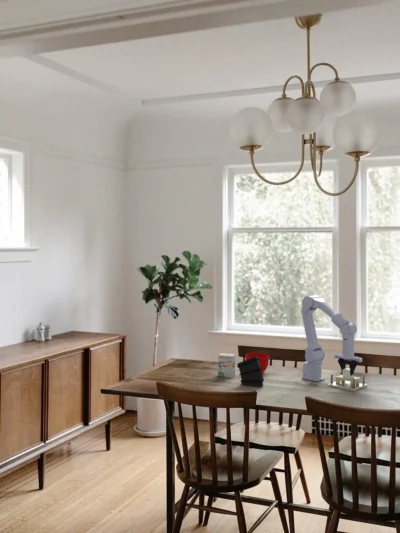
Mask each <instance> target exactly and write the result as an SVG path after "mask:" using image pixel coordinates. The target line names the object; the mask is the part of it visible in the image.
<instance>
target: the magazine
mask: <svg viewBox="0 0 400 533" xmlns="http://www.w3.org/2000/svg"><path fill="white" fill-rule="evenodd" d="M258 359H259V357H257V356H255V357H252V358H250V359H247V360H246V359H245V360H243V361H240V362H238V363H237V364H236V365H237V366H236V368H237V369H238V370H239V372H240V373H239V376H240V381H239V382H240V383H241V386H248V387H253V388H254V387H255V388H263V386H264V382H265V379H264V377H263V374H264V373H263V374H262V367H261V365H260V362H259V360H258Z"/></svg>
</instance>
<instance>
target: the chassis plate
mask: <svg viewBox="0 0 400 533" xmlns="http://www.w3.org/2000/svg"><path fill="white" fill-rule="evenodd" d="M340 375H343V374H342V371H340ZM333 376H334V375H333V374H330V383H328V384H327V387H330V388H336V389H340V390H345V391H350V392H355V391H358V390H361V389H363V388H366V387H367V388H368V384H366V383H365V379H366V378H365V377H366V376H365V375H362V383H361V382H360V381H361V380H358V381H355V379H353V382H351V381H346V380H340V379H336V378H335V381H334V377H333Z"/></svg>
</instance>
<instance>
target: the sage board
mask: <svg viewBox="0 0 400 533" xmlns="http://www.w3.org/2000/svg"><path fill="white" fill-rule="evenodd" d="M336 379H340V380H346V381H351V382H353V379H355V381H358V380H360V381H361V377H358V376H355V374H354V375H352V376H351V375H350V367H349V368H348V367H346V368H345V369H343V375H341V374H340V375H337V376H335V380H336Z"/></svg>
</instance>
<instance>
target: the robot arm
mask: <svg viewBox="0 0 400 533" xmlns="http://www.w3.org/2000/svg"><path fill="white" fill-rule="evenodd" d="M301 305H302V306H301V310H300V311H301V312H300V313H301V317H302V322H303V327H304V328H303V329H304V332H305V339H306V342H307V345H306V347H305V350H304V351H305V353H304V359H305V360H306V361H304V362H303V365H302V377H301V379H304V380H306V381H307V380H308V381H314V382H319V381H322V380H325V379H326V378H325V377H323V376H322V375H323V374H322V373H323V372H322V370H323V368H322V366H323V360H324V359H325V357H326V356H325V352H324V350H323V347H322V345H321V344H320V343H319V340H318V336H317V332H316V331H317V330H316V326H315V321H314V316H313V314H314V313H315V311H316V310H317V309H320V310H321V311H322V312H323V313H324V314H326V315H327V316H328V317H329V318H330V321H331V322H332V323H333V324H334V325H335V326H336V327H337V328H338V329H339V332H340V333H341V338H342V339H341V340H342V344H341V345H342V346H341V347H342V351H341V353H342V354H341V353H340V354H338V353H335V354H333V355H334V357H333V358H334V359H338V360H337V362H338V365H339V368H340V372H342V374H343V369H345V368H347V361H348V365H349V369H350V375H351V376H352V375H354V376H355V370H356V367H357V366H358V364H359V363H362V362H363V357H359V356H355V334H356V333H357V331H358V328H357V326H356V324H355V323H354V322H350V320H348V319H346V318H345V316H344V315H343V314H342V313H340V312H339V313H338V312H337V313H336V312H335V311H334V310H333V308H332V307H331V306H329V304H328V303H327V302H326V301H325V299H324V298H323V297H322V296H321V295H318V294H316V295H305V296H304V297H303V298H302V300H301Z"/></svg>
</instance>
